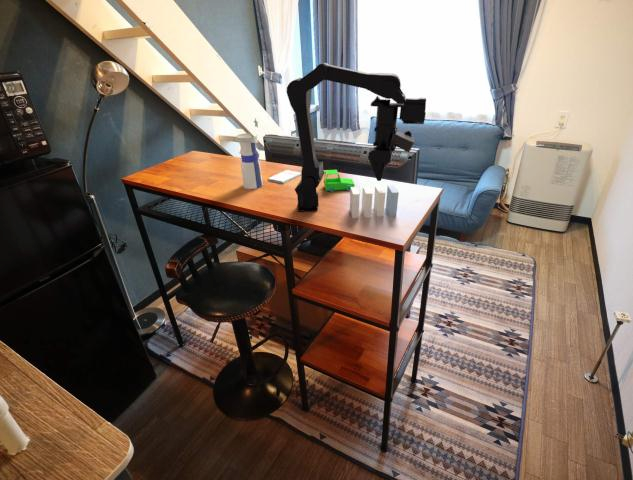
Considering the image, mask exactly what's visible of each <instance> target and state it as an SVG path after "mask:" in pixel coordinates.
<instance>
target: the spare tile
mask: <svg viewBox="0 0 633 480" xmlns="http://www.w3.org/2000/svg"><path fill="white" fill-rule="evenodd" d="M386 189H387V190H386V197H385V209H386V211H387V213H388V216H390V217H397V212H398V202H399V191H398V190H397V188H396V187H395V185H394V184H393V185H387V188H386Z"/></svg>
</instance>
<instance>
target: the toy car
mask: <svg viewBox="0 0 633 480" xmlns="http://www.w3.org/2000/svg"><path fill="white" fill-rule="evenodd" d="M324 172H325V173H324V176H323V177H324V178H323V183H324V184H323V185H324V189H325V191H329V192H330V193H332V192H334V191H341V190H346V191H348V192H350V191H349V190H350V187H356V186H355V182H354V181H353V179H352V178H345V177H341V176H340V173H339V172H338V169H325V171H324ZM331 175H337V177H331V178H328V176H331Z"/></svg>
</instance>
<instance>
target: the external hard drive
mask: <svg viewBox="0 0 633 480" xmlns="http://www.w3.org/2000/svg"><path fill="white" fill-rule="evenodd" d="M300 175H301V171H300V172H299V171H295V170H289V169H285V170H284V171H281V172H279V173H276V174H275V175H272V176H271V177H268V178H267V181H269V182H273V183H277V184H281V185H285V184H286V183H288V182H291V181H292V180H295V179H296V178H298V177H300Z"/></svg>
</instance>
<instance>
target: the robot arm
mask: <svg viewBox="0 0 633 480" xmlns="http://www.w3.org/2000/svg"><path fill="white" fill-rule="evenodd" d="M400 79H401V78H400V77H399V76H398V75H397V74H396V73H391V72H372V73H371V72H365V71H359V70H356V69H355V70H354V69H351V68H346V67H342V66H337V65H332V64H329V63H328V62H322V63H319V64H317V65H316V67H315V68H314V69H312V70H311V71H310V72H308V73H307V74H306V75H304V76H303V77H298V78H296V79H293V80H291V81H290V82H289V84H287V86H286V96H287V98H288V101H289V105H290V107H291V109H292V111H293V113H294V115H295V119H296V126H297V132H298V140H299V144H300V145H299V146H300V151H301V152H300V153H301V158H302V166H301V171H300V173H301V178H300V181H299V182H298V183H297V185H296V186H295V188H294V191H295V193H296V195H297V212H317V211H318V208H319V193H318V192H317V188H318V187H319V185H320V183H321V181H322V180H323V179H324V178H323V177H324V176H325V171H324V161H318V158H317V155H316V154H317V153H316V148H315V147H316V146H315V141H314V140H315V138H314V132H313V125H312V119H311V105H312V89H314V88H315V87H317V86H318V85H319V84H321V83H322V82H323V81H329V82H333V83H338V84H343V85H347V86H353V87H354V88H355V87H356V88H360V89H363V90H366V91H369V92H371V93H372V94H375V95H376V97H375V98H374V99H373V100H372V101H371V103H370V107H376V121H375V126H374V130H373V131H374V132H375V133H374V141H373V142H372V143H373V145H372V146H373V147H372V148H371V149H370V150H369V152H368V155H367V157H368V159H367V160H368V161H369V163H370V165H371V168H372V170H373V173H374V176H375V179H376V181H377V182H381V181H382V178H383V174H384V172H385V171H386V168H387V165H389V164H390V163H391V162H392V159H393V154H394V153H393V152H395V150H396V148H399V149H402V150H403V151H404V152H407V153H410V152H411V150H412V147H413V146H414V144H415V142H416V139H415V137H413V135H412V134H413V131H411V130H409V129H407V130H405V132H400V131H398V125H397V121H398V120H399V121H401V122H402V124H403V125H405V124H406V125H424V124H425V120H426V114H427V113H426V107H427V106H426V105H427V99H426V97H419V98H417V97H415V98H413V97H412V98H410V97H406V93H404V92H403V90H402V89H401V80H400ZM380 97H381V98H382V99H381V98H380ZM391 100H393V101H394V102H391ZM399 108H400V110H399ZM398 111H399V112H398ZM398 113H399V119H398Z"/></svg>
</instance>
